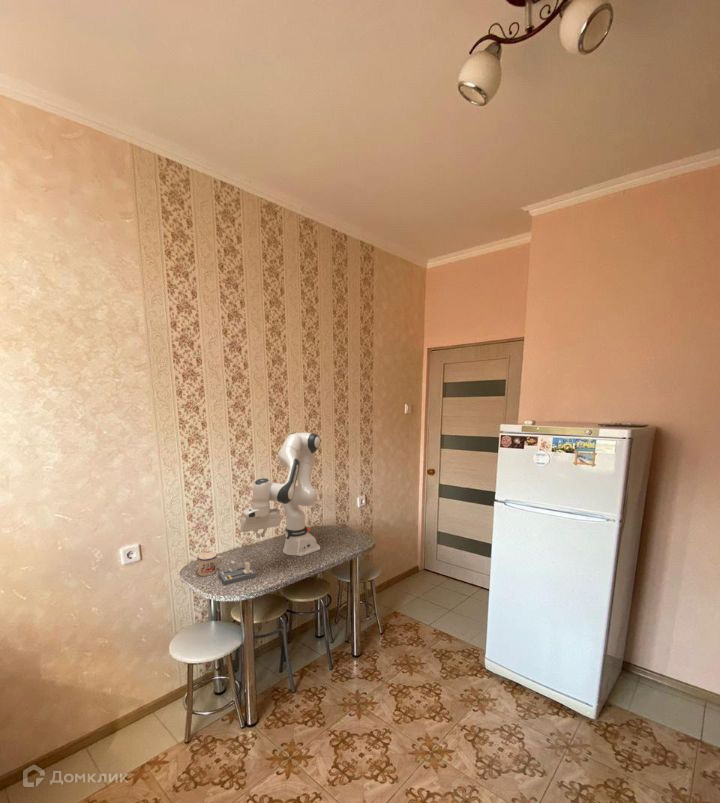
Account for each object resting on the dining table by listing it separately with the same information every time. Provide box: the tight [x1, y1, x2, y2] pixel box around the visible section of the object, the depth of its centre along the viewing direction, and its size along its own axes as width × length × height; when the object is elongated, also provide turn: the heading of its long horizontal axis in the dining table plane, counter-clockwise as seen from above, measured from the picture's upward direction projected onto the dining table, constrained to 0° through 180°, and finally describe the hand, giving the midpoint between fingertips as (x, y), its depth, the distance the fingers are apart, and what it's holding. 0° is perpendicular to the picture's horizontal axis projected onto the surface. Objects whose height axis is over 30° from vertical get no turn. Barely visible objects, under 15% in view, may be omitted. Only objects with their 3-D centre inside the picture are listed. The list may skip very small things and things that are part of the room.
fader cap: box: [243, 561, 251, 574], centre depth 186 cm, size 3×3×5 cm
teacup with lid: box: [197, 549, 223, 577], centre depth 190 cm, size 12×9×12 cm
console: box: [218, 560, 257, 586], centre depth 186 cm, size 16×11×7 cm
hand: (260, 537), depth 189 cm, fingers closed
